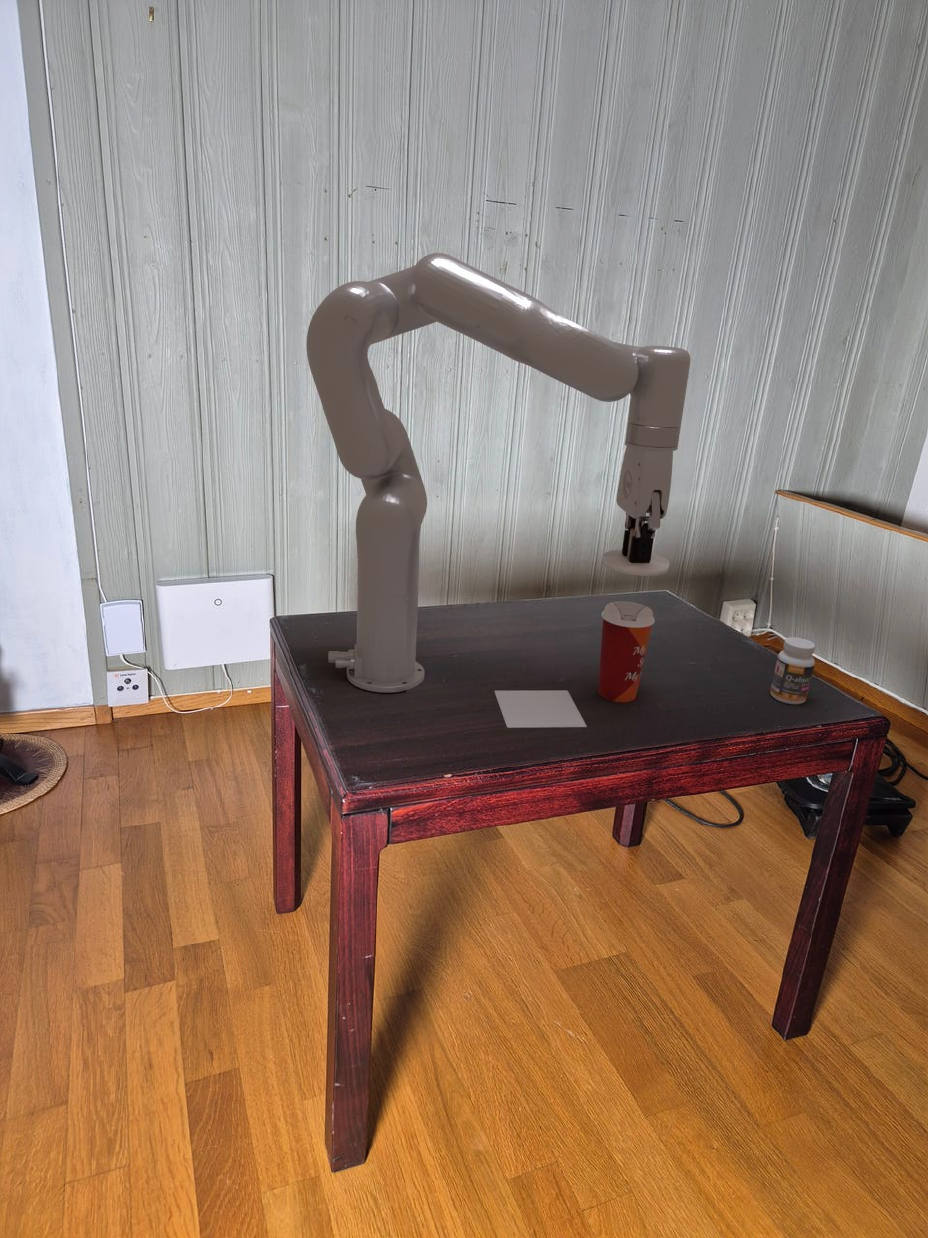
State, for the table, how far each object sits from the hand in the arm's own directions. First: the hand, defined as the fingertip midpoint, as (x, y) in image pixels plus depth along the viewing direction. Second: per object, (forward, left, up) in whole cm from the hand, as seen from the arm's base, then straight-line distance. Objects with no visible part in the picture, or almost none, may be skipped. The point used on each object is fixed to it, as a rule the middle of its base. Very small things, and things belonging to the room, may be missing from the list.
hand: (635, 558), depth 127 cm
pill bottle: (+29, -1, -23) cm, 37 cm away
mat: (-14, -5, -23) cm, 28 cm away
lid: (0, 0, -1) cm, 1 cm away
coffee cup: (0, 0, -23) cm, 23 cm away
